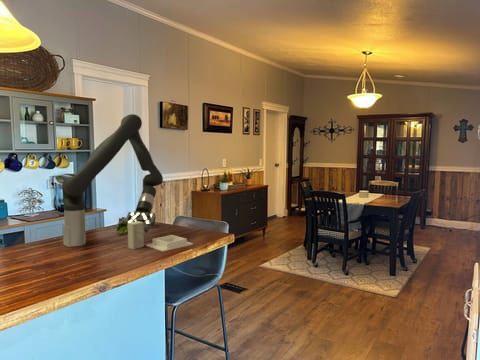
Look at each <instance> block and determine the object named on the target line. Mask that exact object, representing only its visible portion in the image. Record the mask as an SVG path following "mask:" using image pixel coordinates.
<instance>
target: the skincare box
mask: <svg viewBox="0 0 480 360" xmlns="http://www.w3.org/2000/svg"><path fill="white" fill-rule="evenodd" d="M144 242H145V241H144V230H143V222H140V221H136V222H131V223H128V231H127V248H128V249H132V250H135V249H140V248H143V247H144V245H145V244H144Z"/></svg>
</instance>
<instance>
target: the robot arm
mask: <svg viewBox="0 0 480 360" xmlns="http://www.w3.org/2000/svg"><path fill="white" fill-rule="evenodd" d="M141 118H142V117H140V116H139V115H137V114H134V113H133V114H132V113H131V114H128V115H126V116H124V117H123V118H122V119H121V121H120V125H119V126H118V128H117V129H116V130H115V131H114V132H113V133H111V134H110V135H109V136H107V137H106V138H105V139H103V141H101V142H100V144H98V146H97V147H96V148H95V149H94V150H93V151H92V153H91V154H90V155H89V157H88V158H87V160H86V162H85V164H84V166H83V167H82V168H81V169H79V171H78V172H76V174H74V175H73V176H71V175H70V176H68V177H66V178H65V179H64V180H63V182H62V203H63V210H64V211H63V212H64V218H63V219H64V221H63V222H64V225H62V234H63V235H62V237H63V241H62V242H63V243H62V244H63V245H64V246H66V247H68V248H70V247H71V248H72V247H80V246H85V245H86V243H87V242H86V241H87V239H86V204H85V201H84V193H85V191H86V190H87V189H88V187H89V186H90V184H91V183H92V182H93V180H94V179H95V178H96V177H97V176H98V175H99V174H100V173H101V172H102V171H103V170H104V169H105V168H106V167H107V165H109V164H110V162H112V160H113V159H115V157H116V156H117V154H118V153H119V152H120V151H121V149H122V148H123V147H124V145H125V144H126V143H127V142H128V141H129V143H130V144H131V146H132V148H133V152H134V153H135V156H136V158H137V161H138V163H139V166H140V169H141V170H142V171H144V172H149V174H146V175H144V176H143V178H142V190H141V194H140V196H139V199H138V201H137V204H136V208H135V210H134V211H135V213H134V212H130V211H128V212H127V216H126V217H125V218H126V220H125V222H126V224H127V231H126V232H128V223H131V222H136V221H140V222H145V221H146V223H147V224H146V226H145V229H144V230H143V232H144V234H147V232H149V230H150V229H149V227H150V226H151V227H152V226H153V227H154V226H155V223H156V219H157V215H156V213H155V212H153V213H152V209H153V208H154V203H155V199H156V194H157V188H156V186H157V187H158V186H160V185H162V184H163V182H164V181H163V180H164V177H163V175H162V173H161V172H160V170H159V169H158V168H157V165H155V163H154V161H153V158H152V155H151V153H150V151H149V149H148V148H147V146H146V144H145V143H144V141H143V139H142V137H141V135H140V129H141V128H142V126H143V125H142V124H143V122H142V121H143V120H142V119H141ZM150 213H151V214H150ZM150 217H151V222H149V221H148V218H150ZM134 219H136V220H134Z"/></svg>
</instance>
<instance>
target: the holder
mask: <svg viewBox="0 0 480 360" xmlns="http://www.w3.org/2000/svg"><path fill="white" fill-rule="evenodd" d="M192 245H194V243H193V242H189V241H188V239H187V238H185V237H181V236H179V235H174V234H169V235H165V236H160V237H155V238H152V243H147V244H145V246H146V247H148V248H151V249H155V250H156V251H160V252H167V251H171V250H175V249H179V248H180V249H181V248H184V247H188V246H192Z"/></svg>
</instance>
